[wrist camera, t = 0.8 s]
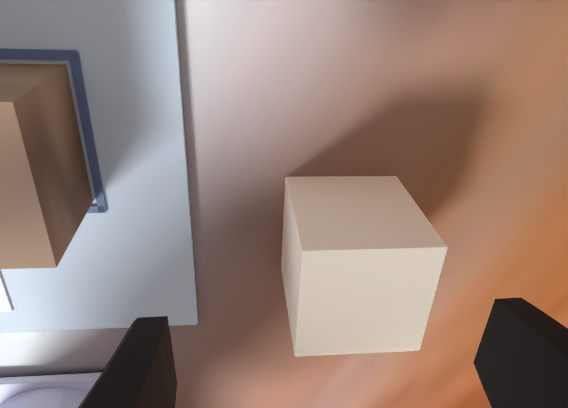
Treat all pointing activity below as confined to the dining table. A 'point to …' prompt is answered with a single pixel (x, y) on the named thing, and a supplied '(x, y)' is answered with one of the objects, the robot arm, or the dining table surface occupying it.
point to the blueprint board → (111, 167)
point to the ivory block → (357, 265)
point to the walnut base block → (39, 166)
